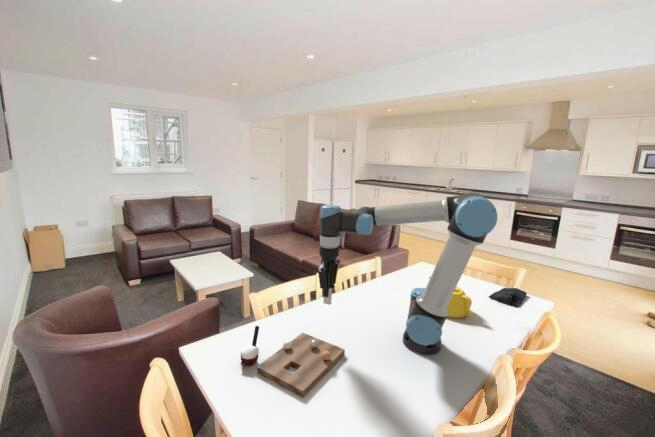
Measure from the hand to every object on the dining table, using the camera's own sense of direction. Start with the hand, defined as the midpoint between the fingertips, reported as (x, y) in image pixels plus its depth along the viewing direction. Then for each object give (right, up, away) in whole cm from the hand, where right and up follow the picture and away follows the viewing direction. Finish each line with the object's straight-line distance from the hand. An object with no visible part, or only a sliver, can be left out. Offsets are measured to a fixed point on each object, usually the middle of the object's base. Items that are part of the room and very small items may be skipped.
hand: (327, 303), depth 123 cm
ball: (-5, -14, -5) cm, 16 cm away
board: (-9, -19, -10) cm, 24 cm away
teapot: (+60, -13, +34) cm, 70 cm away
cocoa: (-28, -19, -10) cm, 35 cm away
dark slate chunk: (+101, -11, +50) cm, 113 cm away
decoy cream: (-15, -14, -6) cm, 21 cm away
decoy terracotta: (0, -16, -11) cm, 19 cm away
